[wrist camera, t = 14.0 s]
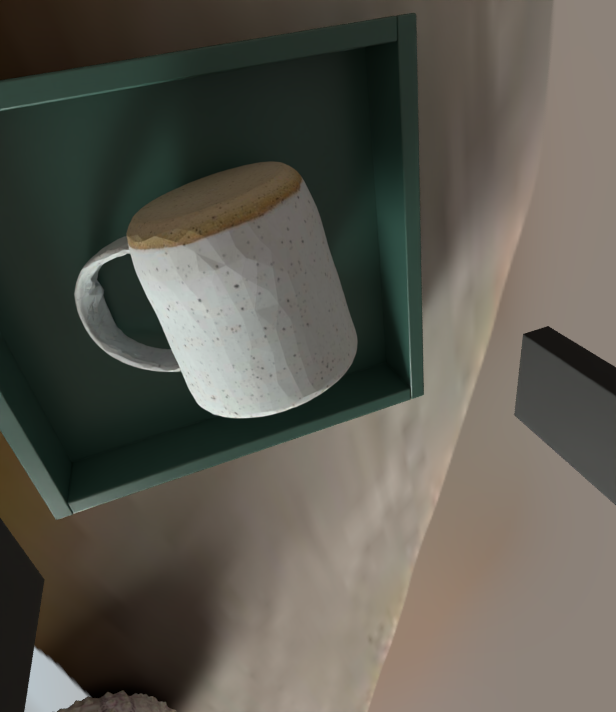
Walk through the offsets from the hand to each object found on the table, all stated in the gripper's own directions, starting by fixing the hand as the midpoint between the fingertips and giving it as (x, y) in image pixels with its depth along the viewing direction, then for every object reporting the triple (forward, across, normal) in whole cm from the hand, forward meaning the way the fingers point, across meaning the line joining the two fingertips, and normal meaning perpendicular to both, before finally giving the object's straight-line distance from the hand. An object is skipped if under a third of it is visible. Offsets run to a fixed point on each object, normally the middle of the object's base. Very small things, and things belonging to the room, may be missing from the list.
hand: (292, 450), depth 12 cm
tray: (+14, 0, 0) cm, 14 cm away
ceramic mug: (+14, 0, 0) cm, 14 cm away
